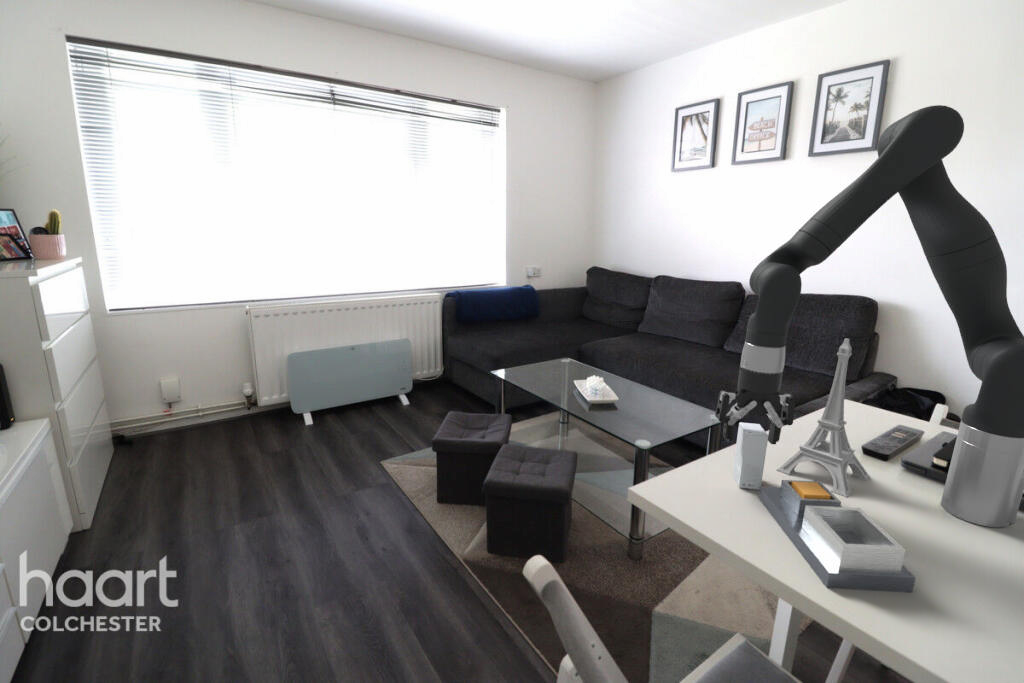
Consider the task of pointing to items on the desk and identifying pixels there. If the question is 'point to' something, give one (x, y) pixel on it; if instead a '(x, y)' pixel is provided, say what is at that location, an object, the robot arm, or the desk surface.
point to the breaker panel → (838, 541)
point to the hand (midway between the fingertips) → (749, 441)
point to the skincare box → (750, 455)
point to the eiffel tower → (832, 435)
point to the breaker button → (810, 490)
